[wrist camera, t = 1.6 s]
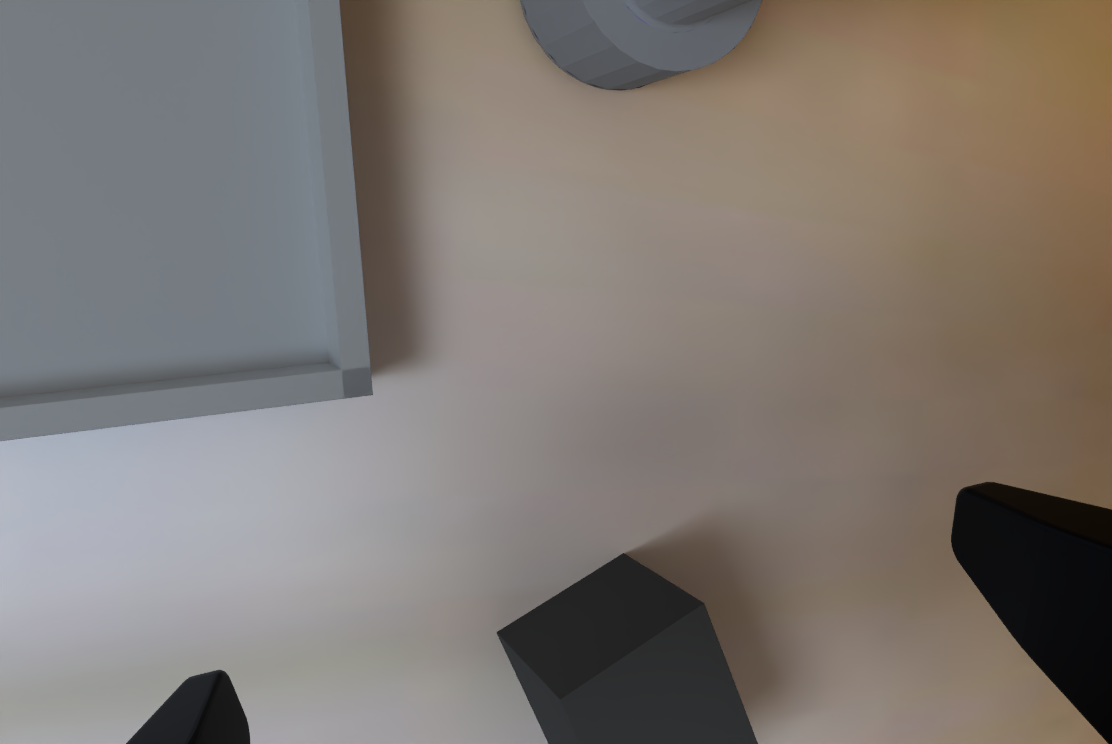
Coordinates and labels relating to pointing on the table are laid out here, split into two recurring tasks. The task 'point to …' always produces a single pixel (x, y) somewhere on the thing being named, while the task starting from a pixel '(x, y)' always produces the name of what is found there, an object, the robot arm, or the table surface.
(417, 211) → the table surface
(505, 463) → the table surface
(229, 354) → the tray
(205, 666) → the table surface
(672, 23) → the bolt
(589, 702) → the block
